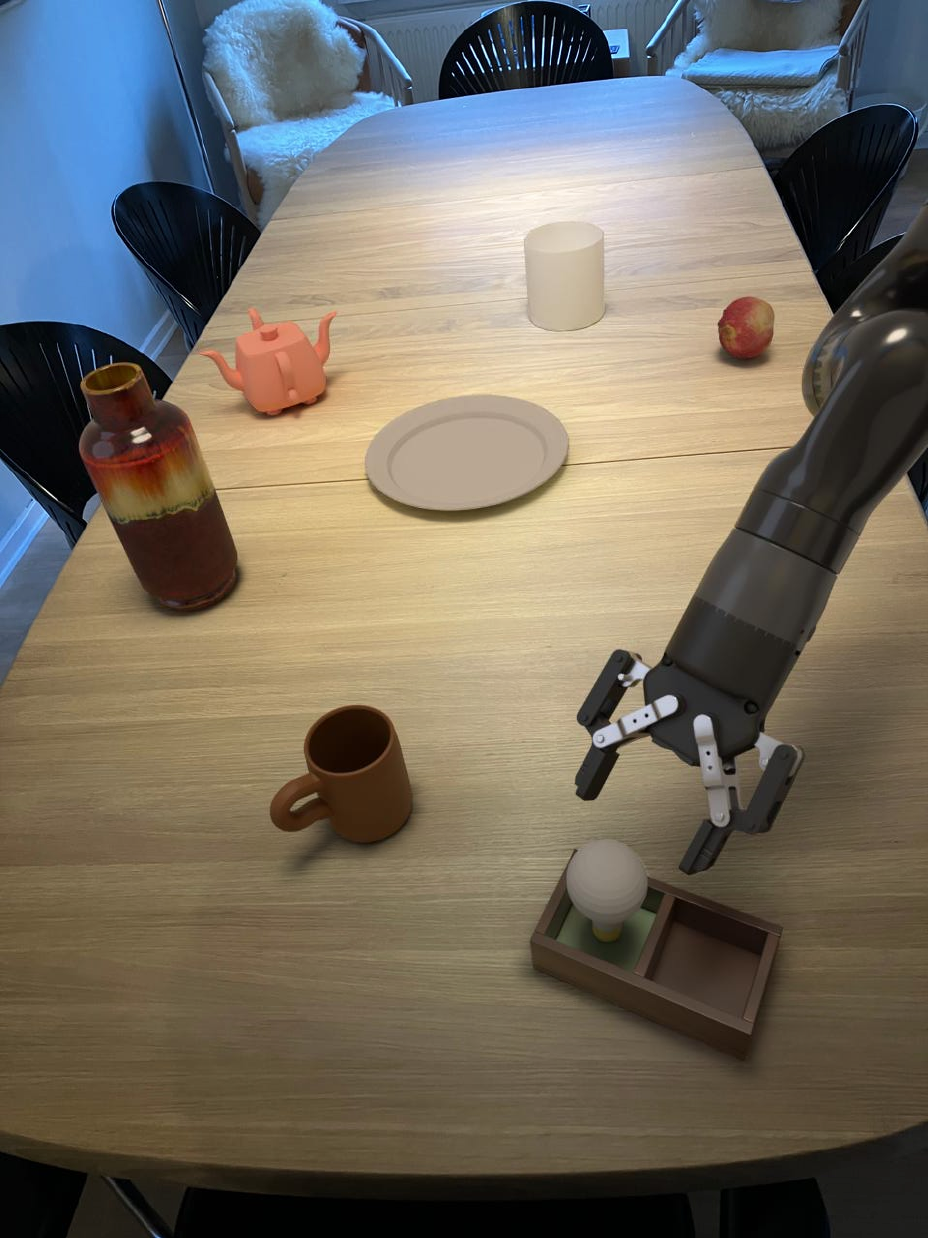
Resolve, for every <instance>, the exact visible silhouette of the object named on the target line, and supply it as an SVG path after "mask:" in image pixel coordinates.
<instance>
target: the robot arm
mask: <svg viewBox="0 0 928 1238" xmlns="http://www.w3.org/2000/svg"><path fill="white" fill-rule="evenodd" d="M901 237H902V238H901V239H900V240H899V241H898V243H896V245H895V246H894V247H893V248H892V249H891V250H890V251H889V253H888V254H887V255H886V256H885V257H884V258H883V259H882V260H881V261H880V263H878V264H877V265H876V267H874V268H873V270H871V271H870V273H869V274H868V275H867V276H866V277H865V278H864V280H863V281H861V283H860V284H859V285H858V286H857V288H856V289H855V290H854V291H853V292H852V293H851V294H850V296H848V297H847V299H846V300H845V301H844V303H842V305H841V306H840V307H839V308H838V310H837V311H836V312H835V313H834V314H833V316H832V317H831V318H830V319H829V321H828V322H827V323H826V325H825V326H824V327H823V329H822V330H821V331H820V333H819V335H818V336H817V337H816V339H815V341H814V342H813V345H812V347H811V348H810V351H809V353H808V355H807V357H806V359H805V363H804V365H803V369H802V373H801V394H802V398H803V401H804V404H805V407H806V409H807V410H808V412H809V413H810V414H811V416H812V417H813V418H812V420H811V421H810V423H809V425H808V426H807V428H806V430H805V431H804V432H803V434H802V436H801V437H800V438H799V440H798V441H797V442H796V443H795V444H793V446H791V447H789V448H787V449H786V450H783V451H782V452H780V453H778V454H776V455H775V456H774V457H773V458H772V459H771V460H770V461H769V462H768V464H767V465H766V466H765V468H764V469H763V471H762V473H761V474H760V476H759V477H758V479H757V481H756V482H755V484H754V486H753V489H752V491H751V492H750V494H749V496H748V499H747V500H746V502H745V504H744V505H743V508H742V510H741V512H740V514H739V515H738V517H737V520H736V521H735V523H734V525H733V527H734V528H731V530H730V532H729V534H728V536H727V537H726V539H724V541H723V542H722V544H721V545H720V547H719V548H718V550H717V551H716V553H715V554H714V556H713V557H712V559H711V560H710V562H709V564H708V566H707V568H706V570H705V571H704V574H703V576H702V578H701V579H700V582H699V584H698V586H697V587H696V589H695V591H694V593H693V595H692V596H691V599H690V600H689V603H688V604H687V606H686V608H685V610H684V612H683V614H682V616H681V618H680V620H679V622H678V623H677V626H676V627H675V630H674V632H673V634H672V636H671V637H670V639H669V641H668V643H667V644H666V646H665V649H664V652H663V655H662V657H661V659H660V660H659V662H658V663H657V664H656V665H654V666H653V667H652V666H651V665H649V664H648V663H646V662H645V661H643V657H642V655H640V654H639V653H638V652H633V651H630V650H625V649H621V648H619V649H615V650H613V652H612V653H611V655H610V657H609V658H608V660H607V662H606V663H605V665H604V667H603V669H602V670H601V672H600V674H599V675H598V677H597V679H596V681H595V683H594V684H593V686H592V687H591V689H590V691H589V693H588V695H586V697H585V700H584V701H583V703H582V705H581V706H580V708H579V710H578V712H577V713H576V721H577V723H578V724H579V726H581V727H584V728H585V730H586V731H587V732H588V733H589V735H590V738H591V745H590V747H589V749H588V751H587V753H586V755H585V757H584V759H583V761H582V764H580V767H579V769H578V770H577V773H576V775H575V778H574V785H575V786H576V787H577V788H576V790H575V793H574V794H575V796H576V797H578V798H579V799H580V800H582V801H583V802H593V801H595V800H596V799H597V798H598V797H599V795H600V794H601V792H602V791H603V788H604V786H605V785H606V782H607V781H608V778H609V776H610V775H611V773H612V771H613V769H614V767H615V765H616V763H617V761H618V760H619V757H620V755H621V754H620V753H619V752H617V750H618V749H621V748H622V747H625V746H627V745H629V744H632V743H633V742H636V741H638V740H640V739H644V738H645V739H646V738H648V737H650V738H651V742H652V743H653V744H655V745H656V746H658V747H659V748H662V749H665V750H669V751H672V752H673V753H674V755H675V756H677V758H678V759H680V761H682V762H684V763H685V764H686V765H688V766H690V767H696V768H697V767H698V768H700V771H701V772H700V773H701V780H702V785H703V788H704V789H705V790H706V793H707V794H706V795H707V801H708V809H709V815H710V817H709V818H708V819H707V818H706V819H703V820H702V822H701V823H700V826H699V828H698V830H697V831H696V833H695V835H694V837H693V839H692V840H691V842H690V844H689V846H688V848H687V850H686V851H685V853H684V855H683V857H682V859H681V860H680V862H679V865H678V868H677V869H678V870H679V871H680V872H682V873H683V874H685V875H686V876H688V877H689V876H693V875H696V874H698V873H703V872H706V871H709V870H710V869H711V868H713V867H714V865H715V864H716V862H717V860H718V859H719V856H720V855H721V853H722V851H723V849H724V848H725V846H726V844H727V843H728V840H729V839H730V838H731V835H732V834H733V832H735V831H737V832H742V833H744V834H746V835H748V836H754V835H758V834H766V833H768V832H770V831H771V830H772V828H773V826H774V824H775V822H776V820H777V818H778V816H779V814H780V812H781V809H782V807H783V806H784V803H785V801H786V800H787V797H788V795H789V793H790V791H791V789H792V786H793V785H794V782H795V780H796V779H797V776H798V774H799V773H800V769H801V768H802V766H803V764H804V761H805V759H806V751H805V749H804V748H803V747H801V746H800V745H797V744H794V743H792V744H791V743H787V742H785V741H783V740H781V739H779V738H777V737H775V736H773V735H771V734H769V733H767V732H766V731H765V729H766V728H765V725H766V724H765V723H766V719H767V716H768V714H769V712H770V710H771V709H772V707H773V705H774V704H775V702H776V700H777V698H778V697H779V694H780V692H781V690H782V689H783V688H784V686H785V683H786V681H787V680H788V678H789V676H790V675H791V672H792V670H793V669H794V667H795V665H796V663H797V661H798V660H799V658H800V656H801V655H802V652H803V651H804V649H805V648H806V645H807V643H809V642H810V641H811V640H812V638H813V636H814V634H815V632H816V630H817V625H818V623H819V621H820V619H821V617H822V615H823V613H824V611H825V609H826V607H827V605H828V602H829V599H830V597H831V594H832V591H833V590H834V589H833V588H834V586H835V584H836V582H837V580H838V575H840V574H841V572H842V570H843V569H844V568H845V565H846V563H847V561H848V560H849V558H850V555H851V554H852V552H853V550H854V548H855V546H856V544H857V543H858V540H859V539H860V537H861V535H862V534H863V531H864V529H865V527H866V524H867V523H868V521H869V519H870V517H871V515H872V513H873V512H874V511H875V509H876V508H877V507H878V506H879V505H880V504H881V502H882V501H883V500H884V499H885V498H886V497H887V496H888V495H889V494H890V493H891V492H892V491H893V490H894V489H895V488H896V486H897V485H898V484H899V483H900V482H901V481H902V479H903V478H904V477H905V476H906V475H907V473H908V472H909V470H911V468H912V467H913V466H914V464H916V462H917V461H918V460H919V459H920V457H921V456H922V455H923V453H924V452H926V450H927V448H928V197H927V198H926V200H925V201H924V203H923V204H922V206H921V207H920V209H919V210H918V212H917V213H916V215H915V216H914V217H913V219H912V221H911V223H910V225H909V226H908V228H907V229H906V231H905V233H904V234H903V236H901ZM641 682H642V691H643V700H644V706H642V707H641V708H639V709H636V710H634V711H632V712H630V713H627V714H626V715H624V716H621V717H619V718H618V719H617V721H614V722H611V721H610V719H611V718H612V716H613V714H614V713H615V711H616V709H617V708H618V705H619V704H620V703H621V701H622V699H623V697H624V695H625V694H626V693H627V691H628V689H629V688H630V689H631V688H634V687H636V686H638V685H639V683H641ZM754 749H757V750H758V752H759V759H758V766H759V768H760V769H761V770H762V772H763V773H762V775H761V776H760V777H761V778H760V780H759V782H758V783H757V786H756V788H755V790H754V792H753V794H752V796H751V798H750V800H749V803H748V805H747V807H746V809H745V808H742V807H743V806H742V799H741V794H740V787H741V776H740V775H741V774H740V769H739V761H738V757H739V756H740V755H743V754H745V753H747V752H750V751H751V750H754Z"/></svg>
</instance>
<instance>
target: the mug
mask: <svg viewBox="0 0 928 1238" xmlns="http://www.w3.org/2000/svg"><path fill="white" fill-rule="evenodd" d="M303 754H304V758H305V762H306V767H307V769H308V770H307V771H308V773H306V774H303V775H301V776H299V777H296V778H293V779H291V780H290V781H288V782H286V783H285V784H284V785H283V786H282V787H281V788H280V789H279V790H278V791H277V792H276V794H275V795H274V796H273V798H272V800H271V803H270V805H269V816H270V820H271V822H272V824H273V825H274V826H275V827H276V828H277V829H279V830H281V831H283V832H286V833H294V832H300V831H303V830H305V829H307V828H309V827H310V826H312V825H313V824H315V823H316V822H318V821H322V820H324V819H325V820H327V822H328V824H329V825H330V827H331V828H332V830H333V831H334V832H335V833H336V834H337V835H339V836H340V837H342V838H343V839H346V840H348V841H352V842H355V843H373V842H377V841H380V840H383V839H385V838H388V837H390V836H391V835H393V834H394V833H396V832H397V831H398V830H399V829H400V828H401V827H402V826H403V825H404V824H405V822H406V821H407V820H408V818H409V815H410V813H411V810H412V807H413V792H412V786H411V782H410V778H409V774H408V769H407V765H406V761H405V758H404V754H403V750H402V745H401V742H400V738H399V735H398V733H397V731H396V729H395V725H394V723H393V721H392V720H391V719H390V717H389V716H388V715H387V714H386V713H385V712H383V711H382V710H380V709H378V708H376V707H373V706H370V705H365V704H349V705H348V704H347V705H344V706H339V707H337V708H335V709H334V708H333V709H332V710H330V711H328V712H327V713H324V714H323V715H321V716H320V717H319V718H318V719H317V720H316V721H314V723H313V724H311V727H310V728H309V730H308V731H307V733H306V735H305V739H304V742H303ZM314 794H317V797H315V798H312V799H310V800H308V801H306V802H305V803H303V804H301V806H299V807H298V808H296V809H294V810H291V809H292V808H293V806H294V805H295V804H296V803H297V802H298V801H300V800H302V799H304V798H306V797H309V796H311V795H314Z"/></svg>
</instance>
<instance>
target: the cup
mask: <svg viewBox="0 0 928 1238" xmlns="http://www.w3.org/2000/svg"><path fill="white" fill-rule="evenodd" d="M523 252H524V267H525V281H526V282H525V283H526V295H527V311H528V318H529V321H530V322H531V323H532V324H533V325H535V326H536V327H537V328H540V329H544V330H548V331H554V332H555V331H556V332H568V331H570V332H571V331H576V330H580V329H584V328H587V327H590V326H592V325H594V324H595V323H597V322H598V321H600V320H601V319H602V318H603V317H604V315H605V311H606V308H605V307H606V303H605V302H606V301H605V297H606V295H605V287H606V286H605V232H604V230H603V229H602V228H601V227H600V226H599V225H596V224H595V223H591V222H588V221H580V220H563V221H554V222H550V223H546V224H542V225H540V226H538V227H535V228H534V229H531V230H530V231H529V232H528V233H527V234H526V235H525V236H524V238H523Z"/></svg>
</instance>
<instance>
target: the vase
mask: <svg viewBox="0 0 928 1238" xmlns="http://www.w3.org/2000/svg"><path fill="white" fill-rule="evenodd" d="M80 389H81V392H82V395H83V396H84V399H85V401H86V403H87V407H88V409H89V411H90V413H91V417H92V418H91V419H90V420H89V421H88V423H87V424H86V426H85V427H84V429H83V431H82V432H81V435H80V437H79V442H78V452H79V455H80V458H81V460H82V463H83V465H84V467H85V469H86V472H87V474H88V476H89V478H90V481H91V483H92V484H93V487H94V489H95V491H96V493H97V495H98V498H99V499H100V502H101V503H102V506H103V508H104V510H105V512H106V515H107V516H108V520H109V521H110V524H111V525H112V528H113V529H114V532H115V533H116V536H117V538H118V540H119V542H120V544H121V546H122V549H123V551H124V552H125V555H126V557H127V559H128V561H129V564H130V565H131V567H132V569H133V572H134V573H135V576H136V577H137V579H138V581H139V583H140V585H141V586H142V589H143V590H144V591H145V592H146V593H148V594H149V595H150V596H152V597H155V598H156V599H157V601H158V603H159V604H160V605H161V606H162V607H164V608H165V609H167V610H170V611H172V612H177V613H190V612H196V611H201V610H203V609H207V608H208V607H211V606H213V605H215V604H217V603H218V602H220V601H222V600H223V599H224V598H225V597H227V596H228V595H229V593H231V591H232V589H233V588H234V586H235V584H236V582H237V581H236V580H237V573H236V570H235V569H236V566H237V562H238V551H237V548H236V544H235V541H234V538H233V536H232V533H231V529H230V527H229V524H228V522H227V518H226V516H225V513H224V510H223V508H222V505H221V501H220V499H219V496H218V493H217V490H216V488H215V485H214V482H213V479H212V476H211V473H210V471H209V468H208V466H207V462H206V460H205V457H204V454H203V451H202V448H201V446H200V443H199V441H198V437H197V435H196V433H195V430H194V427H193V425H192V422H191V420H190V418H189V416H188V414H187V413H186V412H185V411H184V410H183V409H182V408H180V407H179V406H177V405H176V404H175V403H171V402H169V401H166V400H164V399H160V398H154V396H153V393H152V391H151V388H150V386H149V383H148V380H147V379H146V376H145V374H144V371H143V370H142V368H141V366H140V365H139V364H136V363H133V362H116V363H111V364H107V365H104V366H101V367H99V368H96V369H94V370H92V371H91V372H89V373H88V374H87V375H85V376H84V377H83V378H82V379H81V382H80Z"/></svg>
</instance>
